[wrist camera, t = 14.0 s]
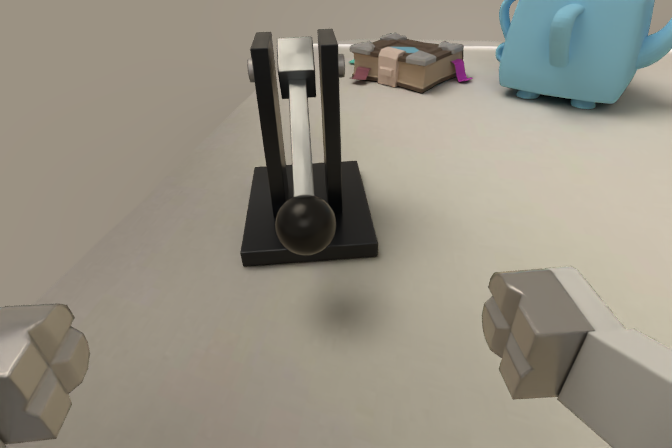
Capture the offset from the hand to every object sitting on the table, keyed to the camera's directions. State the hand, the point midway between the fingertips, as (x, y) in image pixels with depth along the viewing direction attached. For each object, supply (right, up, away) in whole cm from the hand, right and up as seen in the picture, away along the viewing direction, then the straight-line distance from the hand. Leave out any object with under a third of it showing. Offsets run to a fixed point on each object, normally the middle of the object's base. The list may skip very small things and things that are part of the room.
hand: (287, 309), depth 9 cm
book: (+9, +23, +54) cm, 59 cm away
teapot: (+31, +17, +45) cm, 57 cm away
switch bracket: (-1, +3, +25) cm, 25 cm away
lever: (-1, +6, +18) cm, 19 cm away
